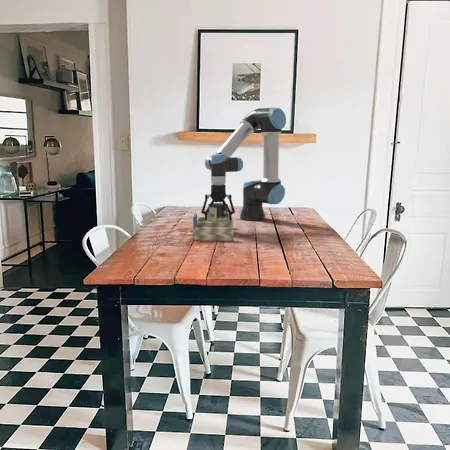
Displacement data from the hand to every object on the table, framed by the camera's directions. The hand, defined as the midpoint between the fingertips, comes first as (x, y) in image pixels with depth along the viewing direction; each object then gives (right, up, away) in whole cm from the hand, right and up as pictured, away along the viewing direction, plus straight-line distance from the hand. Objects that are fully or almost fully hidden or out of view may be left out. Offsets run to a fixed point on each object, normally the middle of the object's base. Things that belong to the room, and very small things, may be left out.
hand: (218, 226), depth 245 cm
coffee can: (0, -2, 0) cm, 2 cm away
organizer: (-1, -4, -7) cm, 8 cm away
